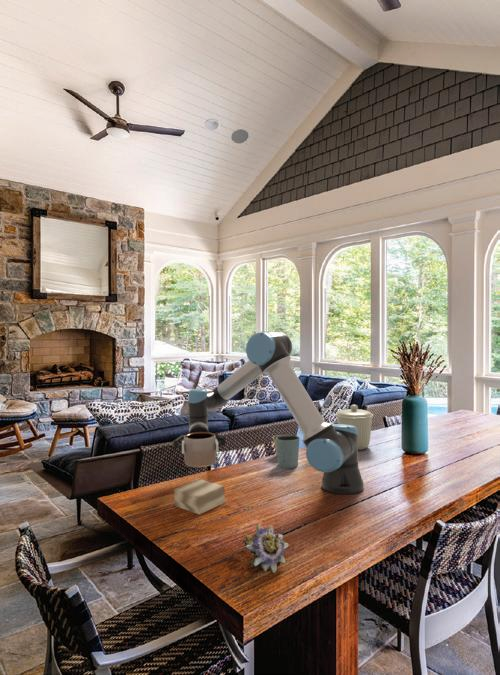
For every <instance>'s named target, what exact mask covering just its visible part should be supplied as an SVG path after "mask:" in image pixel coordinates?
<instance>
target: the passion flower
mask: <svg viewBox="0 0 500 675" xmlns="http://www.w3.org/2000/svg"><path fill="white" fill-rule="evenodd" d="M255 531H256V532H255V534H253V535H246V536H245V538H243V540H242V543H243V544H244V545H245V547H244V548H245V549H246V550H248V551H250V553H251V554H252V561H251V566H252V567H254V568H255V567H257V566H258V565H260V567H261V570H262V571H263V572H264V573H266V572H267V571H268V570H270V572H271V573H272V574H275V573H276V572H277V570H278V567H277V566H278V565H277V564H278V563H280V564H286V558H285V553H287V551H285V550H286V549H287V548H288V547H289V546H290V545H289V543H288V542H285V540H283V538H284V535H283V534H279V533H277V532H276V531H275V530H274V525H270V526H269V527H268V528H266V527H264V528H263V527H262V525H261V524H260V523H257V524H256V530H255ZM275 532H276V533H275ZM250 539H251V541H250Z"/></svg>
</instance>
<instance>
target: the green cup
mask: <svg viewBox="0 0 500 675" xmlns="http://www.w3.org/2000/svg"><path fill="white" fill-rule="evenodd" d="M281 435H282V436H278V437H276V443H277V451H278V452H277V453H278V456H277V463H278V464H277V465H278V467H279V468H281V469H282V468H283V469H294V468H297V467H298V466H299V453H300V437H299V436H297V435H293V434H291V435H290V434H288V435H287V434H281Z"/></svg>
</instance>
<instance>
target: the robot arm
mask: <svg viewBox="0 0 500 675" xmlns="http://www.w3.org/2000/svg"><path fill="white" fill-rule="evenodd" d="M292 350H293V343H292V340H291V338H290V337H289V336H288V335H287V334H286V333H284V332H282V331H277V330H276V331H260V332H257V333H254V334H253V335H252V336H250V338H249V339H248V341H247V342H246V347H245V353H246V357H247V359H248V361H247V362H245V363H244V364H243V365H242V366H241V367H239V368H238V369H237V370H236V371H234V372H233V373H232V374H231V375H229V376H228V377H227V378H226V379H224V380H223V381H222V382H221V383H219V384H218V385H217V386H216V387H214V389H212V390H209V391H207V389H206V388H192V389H190V390H189V391H188V399H187V402H188V434H189V433H195V432H209V423H208V422H209V421H208V420H209V419H208V411H210V410H214V409H218V408H221V407H224V406H226V405H227V404H228V403H229V400H230V399H232V398H233V397H234V396H235V395H237V394H238V393H239V392H241V391H242V390H243V389H244V388H246V387H247V386H249V385H250V384H251V383H252V382H254V381H255V380H256V379H257V378H259V377H260V376H262V375H266V376H269V378H270V380H271V381H272V383H273V385H274V386H275V388H276V389H277V391H278V393H279V395H280V396H281V398H282V400H283V402H284V403H285V405H286V406H287V408H288V410H289V412H290V413H291V415H292V417H293V419H294V420H295V422H296V423H297V425H298V427H299V429H300V431H301V433H303V438H302V443H303V444H304V446H305V448H306V451H305V452H306V453H305V458H306V460H307V462H308V464H309V465H310V466H311V467H312V468H313V469H314V470H316V471H317V472H321V473H323V475H322V478H321V488H322V490H324V491H327V492H330V493H333V494H336V495H337V494H339V495H351V494H352V495H353V494H358V493H361V492H362V491H363V490H364V488H365V487H364V480H363V478H362V474H361V471H360V468H359V450H358V433H357V428H356V427H355V426H352V425H345V424H338V423H330V422H327V421H326V420H324V418H323V416H322V414H321V413H320V410H318V408H317V407H316V405H315V404H314V401H313V400H312V398H311V396H310V395H309V393H308V392H307V390H306V388H305V386H304V385H303V384H302V381H301V380H300V378H299V377H298V375H297V373H296V372H295V370H294V369H293V367H292V365H291V353H292ZM214 434H215V439H216V453H218V452H219V448H221V447H222V446H226V437H224V436H221V435H220V434H219V433H218V432H214ZM185 435H186V434H183V433H181V434H180V436H178V437H177V438H176V439H174V440H173V449H177V448H178V451H181V454H182V455H184V436H185Z"/></svg>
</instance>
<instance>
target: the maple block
mask: <svg viewBox="0 0 500 675" xmlns="http://www.w3.org/2000/svg"><path fill="white" fill-rule="evenodd" d="M173 496H174V499H173V500H174V502H173V503H174V507H177V508H179V509H182V510H186V511H188V512H191V513H194V514H197V515H201V514H203V513H205V512H208V511H210V510H212V509H214V508H216V507H219V506H221V505H223V504H225V503H226V500H225V497H226V496H225V486H224V485H223V484H222V485H221V484H218V483H214V482H211V481H208V480H204V479H197V480H194V481H191V482H188V483H186V484H184V485H181V486H177V487H175V488H174V489H173Z"/></svg>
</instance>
